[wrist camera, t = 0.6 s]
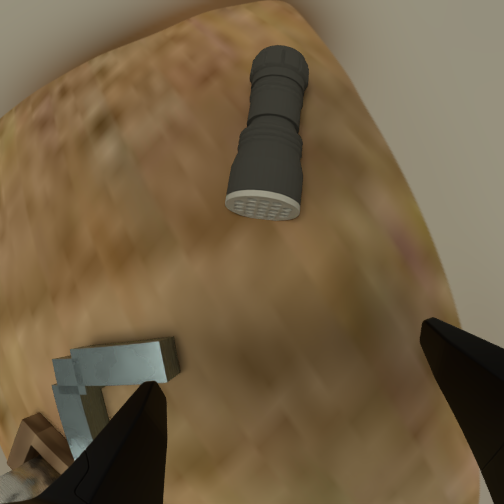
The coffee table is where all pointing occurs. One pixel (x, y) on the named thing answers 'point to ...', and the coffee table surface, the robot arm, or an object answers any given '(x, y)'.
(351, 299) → the coffee table surface
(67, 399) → the v block
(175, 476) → the coffee table surface
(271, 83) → the flashlight
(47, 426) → the slotted block
